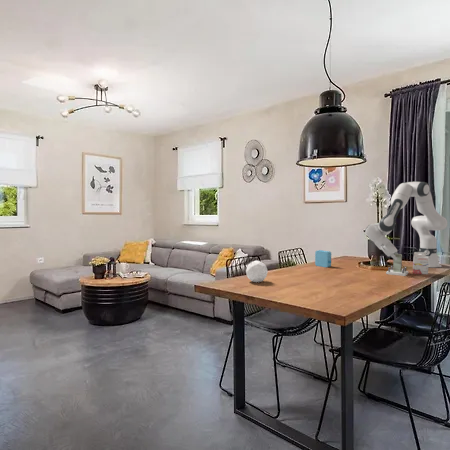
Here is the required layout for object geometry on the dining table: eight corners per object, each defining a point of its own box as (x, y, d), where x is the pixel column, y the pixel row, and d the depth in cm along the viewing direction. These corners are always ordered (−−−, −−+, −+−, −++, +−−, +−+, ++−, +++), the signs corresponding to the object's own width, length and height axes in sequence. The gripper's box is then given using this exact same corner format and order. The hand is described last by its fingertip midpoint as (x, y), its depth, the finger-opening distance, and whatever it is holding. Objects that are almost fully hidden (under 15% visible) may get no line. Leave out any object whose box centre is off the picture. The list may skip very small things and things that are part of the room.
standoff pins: (391, 269, 262) (391, 265, 262) (406, 271, 256) (406, 266, 256) (388, 271, 254) (388, 267, 254) (403, 273, 248) (404, 268, 248)
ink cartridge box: (415, 274, 254) (416, 252, 253) (412, 272, 259) (413, 251, 258) (428, 274, 253) (429, 253, 252) (425, 273, 258) (426, 252, 257)
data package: (331, 267, 282) (331, 251, 282) (327, 267, 280) (327, 252, 279) (318, 265, 292) (318, 250, 291) (314, 265, 289) (315, 250, 289)
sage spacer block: (394, 270, 258) (394, 253, 258) (401, 271, 256) (401, 254, 255) (393, 271, 255) (393, 254, 254) (400, 272, 252) (400, 254, 251)
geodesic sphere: (250, 276, 217) (261, 256, 221) (236, 272, 229) (247, 254, 233) (265, 288, 224) (275, 269, 228) (251, 284, 235) (261, 266, 239)
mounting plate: (389, 271, 264) (389, 269, 263) (408, 273, 257) (408, 271, 256) (386, 274, 254) (386, 271, 254) (405, 275, 247) (405, 273, 247)
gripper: (383, 242, 250) (399, 257, 244) (390, 239, 266) (404, 254, 261) (376, 248, 252) (391, 263, 247) (383, 245, 269) (397, 259, 264)
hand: (398, 258), depth 254 cm, fingers open, 8 cm apart
